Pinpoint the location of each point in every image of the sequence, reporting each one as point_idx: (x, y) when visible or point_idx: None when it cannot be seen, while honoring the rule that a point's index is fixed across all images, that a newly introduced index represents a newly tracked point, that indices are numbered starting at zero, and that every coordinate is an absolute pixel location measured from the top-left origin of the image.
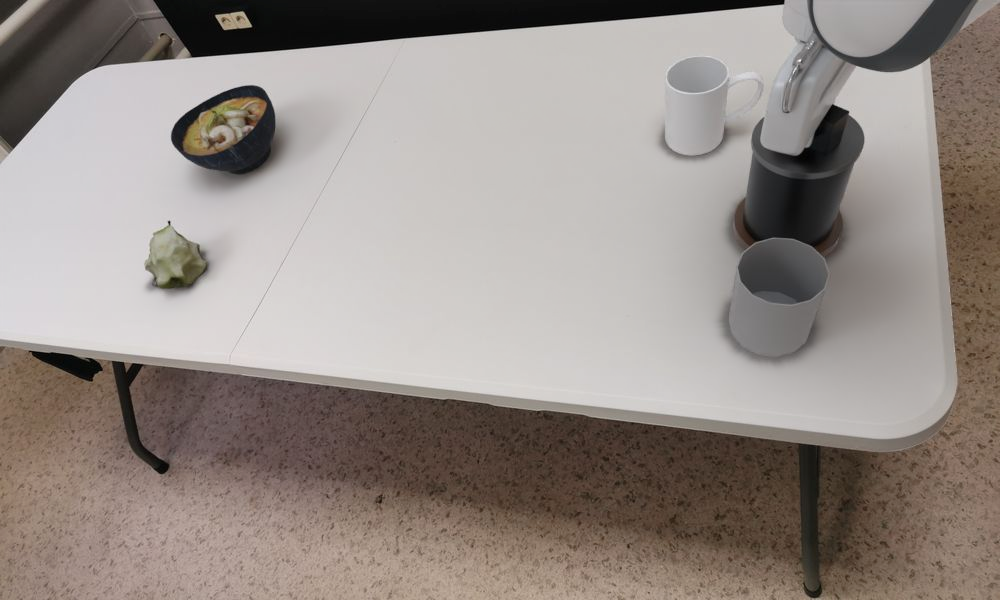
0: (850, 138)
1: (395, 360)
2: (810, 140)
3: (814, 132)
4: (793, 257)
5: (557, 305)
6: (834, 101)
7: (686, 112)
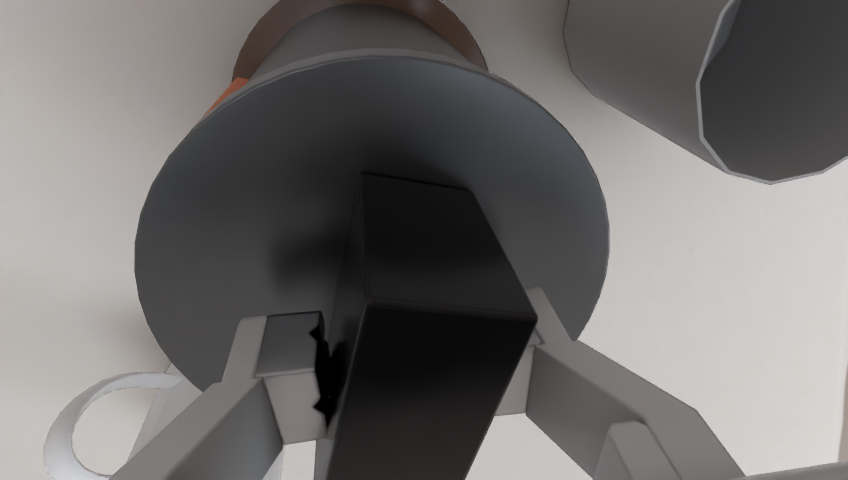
0: (302, 144)
1: (819, 424)
2: (553, 314)
3: (549, 340)
4: (656, 49)
5: (694, 339)
6: (234, 370)
7: (273, 478)
